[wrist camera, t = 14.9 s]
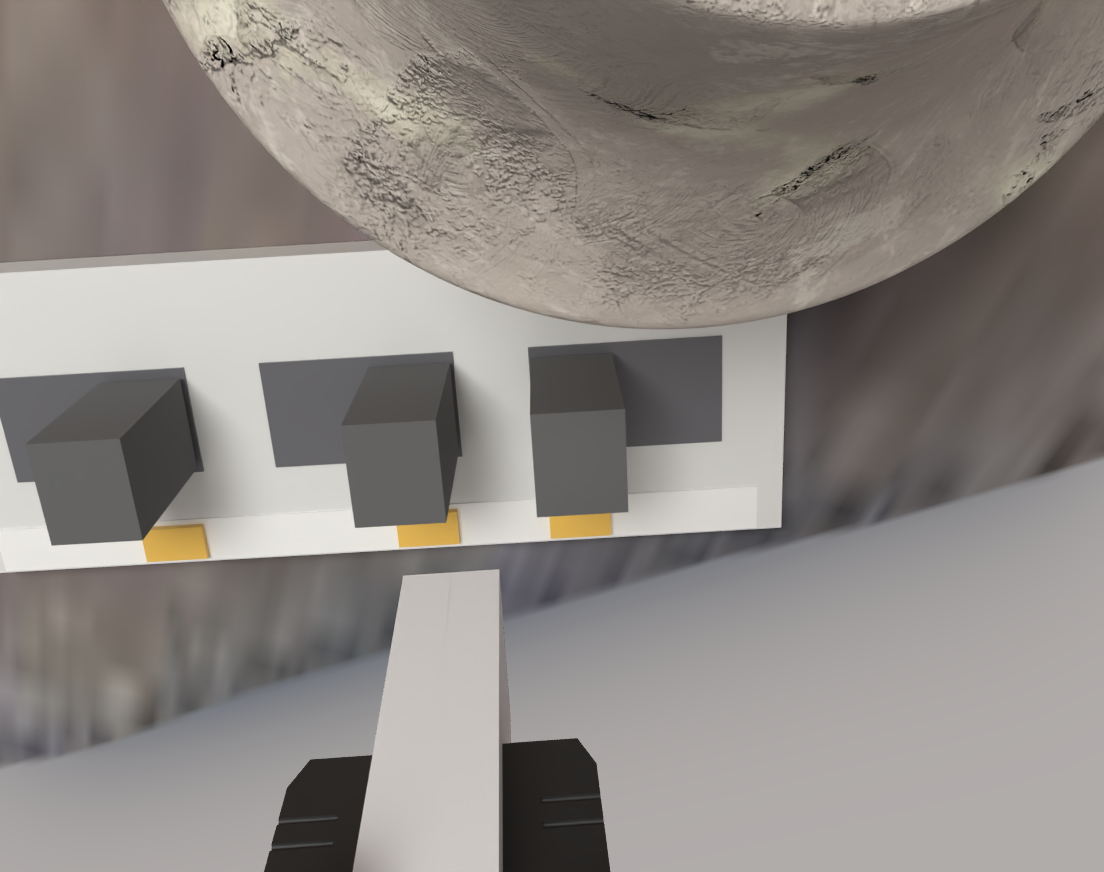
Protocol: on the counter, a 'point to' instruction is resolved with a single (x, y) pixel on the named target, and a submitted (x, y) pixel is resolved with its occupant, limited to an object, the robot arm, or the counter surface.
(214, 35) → the vase
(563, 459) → the knob
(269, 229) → the counter surface
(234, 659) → the counter surface
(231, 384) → the switch board
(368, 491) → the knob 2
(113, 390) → the block
